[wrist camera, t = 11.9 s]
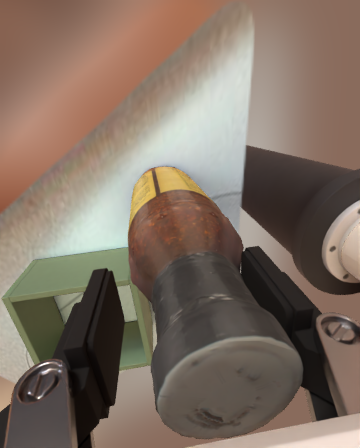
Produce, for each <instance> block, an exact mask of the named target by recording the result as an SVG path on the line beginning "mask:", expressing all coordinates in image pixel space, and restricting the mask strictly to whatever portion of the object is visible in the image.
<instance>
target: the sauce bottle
mask: <svg viewBox="0 0 360 448" xmlns="http://www.w3.org/2000/svg"><path fill="white" fill-rule="evenodd" d="M128 246H129V248H128V251H129V255H128V256H129V258H128V261H129V266H130V274H131V275H130V278H131V281H132V283H133V284H134V285H135V286H137V287H138V289H139V290H140V291H141V292H142V293H143V294H144V295H145V297H146V298H147V299H148V300H149V301H150V302H151V303H152V307H153V311H154V313H155V320H156V331H157V345H156V348H155V350H154V352H153V356H152V360H151V373H152V377H153V386H154V394H155V405H156V410H157V412H158V413H159V415H160V417H161V419H162V421H163V423H164V424H165V425H166V426H168V427H169V428H170V429H172V430H173V431H175V432H177V433H179V434H180V435H182V436H186V437H194V438H196V439H212V438H230V437H234V436H239V435H244V434H247V433H249V432H252V431H254V430H256V429H258V428H260V427H262V426H264V425H266V424H267V423H268V422H269V421H270V420H272V419H273V418H274V417H276V416H277V415H278V414H279V413H280V412H282V411H283V410H284V409H285V408H286V407H287V405H288V404H289V403H290V402H291V401H292V399H293V398H294V396H295V394H296V393H297V391H298V389H299V387H300V386H301V384H302V380H303V370H304V369H303V363H302V360H301V357H300V355H299V353H298V351H297V350H296V348H295V347H294V345H293V344H292V342H291V341H290V339H289V337H288V335H287V334H286V332H285V331H284V329H283V328H282V326H281V325H280V323H279V322H278V321H277V319H276V318H275V317H274V316H273V315H272V314H271V313H270V312H268V311H267V310H265V309H263V308H262V307H260V306H259V304H258V303H257V301H256V300H255V299H254V297H253V296H252V294H251V292H250V291H249V289H248V288H247V287H246V285H245V283H244V280H243V277H242V275H241V273H240V267H241V253H242V252H243V248H244V247H243V244H242V240H241V238H240V236H239V235H238V233H237V232H236V230H235V229H234V227H233V226H232V224H231V223H230V221H229V219H228V218H227V217H225V216H224V214H222V212H221V210H220V209H219V208H218V206H217V205H216V204H215V203H214V202H213V201H212V200H211V199H210V198H209V197H208V196H207V195H206V194H205V193H204V192H203V191H202V190H201V189H200V188H199V187H198V186H197V185H196V183H195V182H194V181H193V180H192V179H191V178H190V177H189V176H188V175H187V174H185V173H184V172H182V171H180V170H178V169H176V168H175V167H157V168H152V169H150V170H148V171H147V172H145V173H144V174H143V175H142V176H141V178H140V179H139V180H138V181H137V183H136V184H135V187H134V190H133V194H132V202H131V212H130V221H129V230H128Z"/></svg>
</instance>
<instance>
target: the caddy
mask: <svg viewBox="0 0 360 448" xmlns="http://www.w3.org/2000/svg"><path fill="white" fill-rule="evenodd" d="M128 248H129V247H126V248H119V249H112V250H105V251H97V252H90V253H83V254H76V255H69V256H61V257H54V258H47V259H40V260H33V261H32V263H31V264H30V265H29V266H28V267H27V268H26V270H25V271H24V272H23V273H22V274H21V276H20V277H19V278H18V279H17V280H16V282H15V283H14V284H13V285H12V286H11V288H10V289H9V290H8V291H7V292H6V293H5V295H4V296H3V297H2V300H3V302H4V304H5V306H6V308H7V310H8V312H9V314H10V316H11V318H12V320H13V322H14V324H15V326H16V328H17V330H18V332H19V334H20V336H21V338H22V340H23V342H24V344H25V346H26V348H27V350H28V352H29V354H30V356H31V358H32V360H33V362H34V364H35V365H36V364H38V363H40V362H42V361H45V360H48V359H52V357H53V354H54V352H55V349H56V347H57V345H58V342H59V340H60V337H61V335H62V332H63V330H64V328H65V326H64V323H63V321H62V318H61V316H60V313H59V311H58V308H57V305H56V303H55V300H54V298H53V296H57V295H64V294H70V293H77V292H84V291H85V290H86V287H87V285H88V282H89V280H90V277H91V274H92V272H93V270H95V269H102V268H107V269H108V271H111V270H112V271H113V274H114V278H115V282H116V286H124V285H130V287H131V292H132V296H133V301H134V306H135V310H136V315H137V319H138V321H133V322H127V323H125V326H124V334H123V342H122V350H121V358H120V367H119V371H121V370H127V369H132V368H138V367H144V366H147V365H148V366H149V365H151V360H152V356H153V322H152V316H151V311H150V306H149V300H148V299H147V298H146V297H145V295H144V294H143V293H142V292H141V291H140V290H139V289H138V287H137V286H135V285H134V284H133V283H132V281H131V278H130V275H131V274H130V266H129V261H128V258H129V256H128V255H129V251H128Z"/></svg>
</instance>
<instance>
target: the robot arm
mask: <svg viewBox="0 0 360 448" xmlns="http://www.w3.org/2000/svg"><path fill="white" fill-rule="evenodd" d="M322 259H323V263H324V265H325V267H326V269H327V270H328V271H329V272H330V273H331V274H332V275H334V276H335V277H336V278H337V279H339V280H341V281H344V282H349V283H360V200H359V201H357V202H355V203H354V204H352V205H351V206H349V207H348V208H347V209H345V210H344V211H343V212H342V213H341V214H340V215H339V216H338V217H337V218H336V220H335V221H334V222H333V223H332V225H331V226H330V228H329V230H328V231H327V233H326V236H325V238H324V241H323V245H322ZM241 275H242V277H243V280H244V283H245V285H246V287H247V288H248V289H249V291H250V292H251V294H252V296H253V297H254V299H255V300H256V301H257V303H258V304H259V306H260V307H262V308H263V309H265V310H267V311H268V312H270V313H271V314H272V315H273V316H274V317H275V318H276V319H277V321H278V322H279V323H280V325H281V326H282V328H283V329H284V331H285V332H286V334H287V335H288V337H289V339H290V341H291V342H292V344H293V345H294V347H295V348H296V350H297V351H298V353H299V355H300V357H301V360H302V363H303V369H304V370H303V380H302V384H301V387H303V388H305V393H306V397H307V402H308V406H309V411H310V415H311V419H312V422H311V423H306V424H301V425H296V426H291V427H286V428H281V429H275V430H270V431H265V432H260V433H255V434H250V435H245V436H241V437H235V438H230V439H225V440H221V441H215V442H211V443H205V444H200V445H196V446H191V447H186V448H360V323H359V322H357V321H356V320H354V319H352V318H350V317H348V316H346V315H343V314H339V313H333V312H332V313H323V314H322V313H321V312H320V311H319V310H318V308H317V307H316V306H315V305H314V304H313V303H312V302H311V301H310V300H309V299H308V297H307V296H306V295H305V294H304V293H303V292H302V291H301V290H300V289H299V288H298V286H297V285H296V284H295V283H294V282H293V281H292V280H291V279H290V277H289V276H288V275H287V274H286V273H284V272H281V271H280V269H279V268H278V267H277V266H276V265H275V264H274V263H273V262H272V260H271V259H270V258H269V257H268V256H267V255H266V254H265V252H264V251H263V250H262V249H261V248H260V247H259V246H255V247H248V248H246V249H245V251H243V252H242V253H241ZM124 326H125V320H124V314H123V310H122V306H121V302H120V298H119V294H118V290H117V286H116V282H115V278H114V274H113V271H112V270H111V271H108V269H107V268H102V269H95V270H93V272H92V274H91V277H90V280H89V282H88V285H87V287H86V290H85V293H84V295H83V298H82V301H81V302H80V303H76V304H74V306H73V308H72V311H71V313H70V316H69V318H68V320H67V323H66V325H65V328H64V330H63V332H62V335H61V337H60V340H59V342H58V345H57V347H56V349H55V352H54V354H53V357H52V359H48V360H45V361H42V362H40V363H38V364H36V365H34V366H33V367H31V368H30V369H29V370H28V371H26V372H25V373H24V374H23V376H22V377H21V378H20V379H19V380H18V382H17V384H16V385H15V387H14V390H13V393H12V398H11V404H9V405H8V406H7V407H6V408H4V409H3V410H2V411H1V412H0V448H95V442H94V435H93V429H94V428H95V427H96V426H97V425H98V424H99V420H100V419H104V418H108V414H109V407H110V406H113V405H114V404H115V399H116V391H117V382H118V375H119V367H120V358H121V350H122V342H123V334H124Z"/></svg>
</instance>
